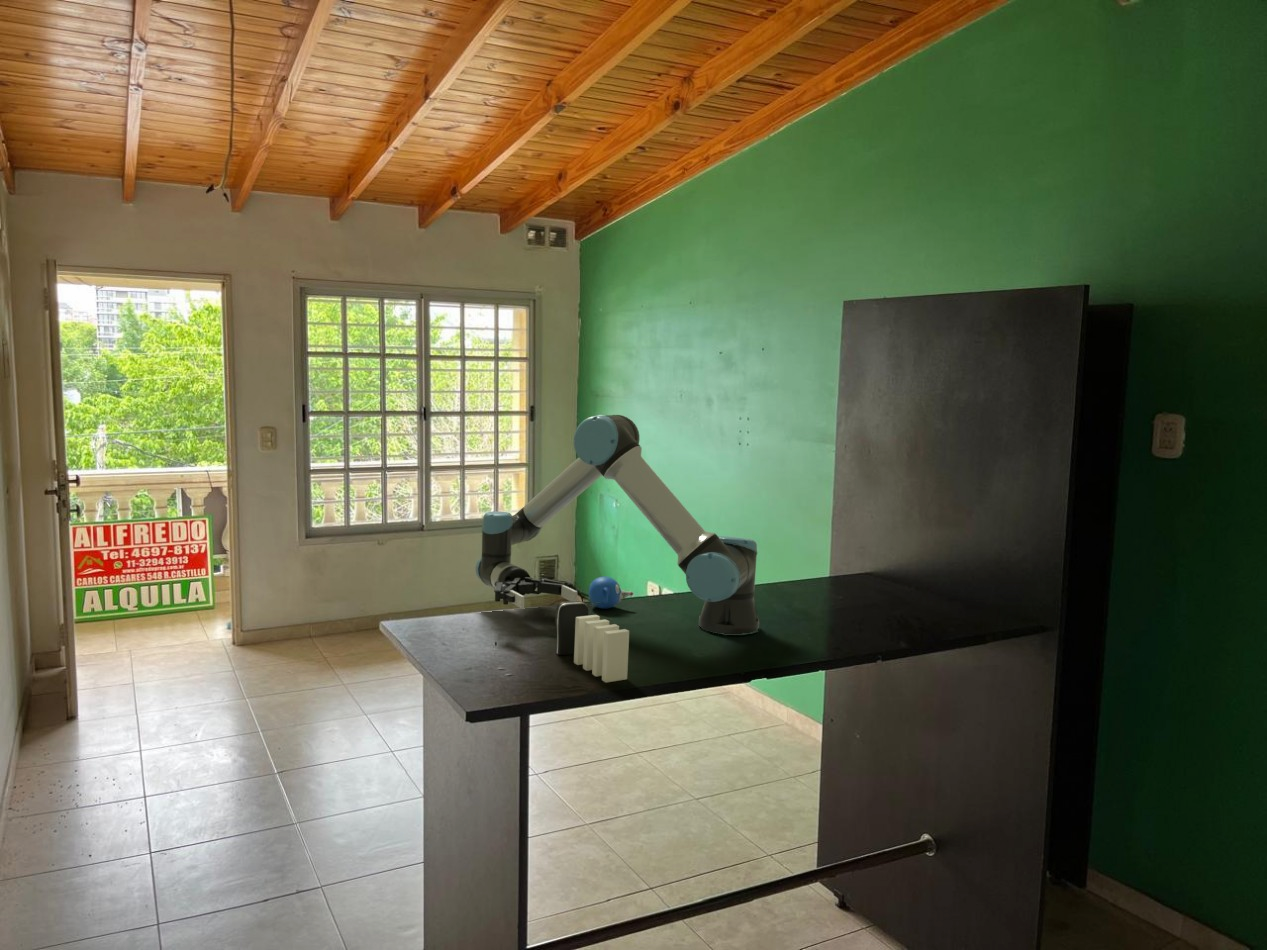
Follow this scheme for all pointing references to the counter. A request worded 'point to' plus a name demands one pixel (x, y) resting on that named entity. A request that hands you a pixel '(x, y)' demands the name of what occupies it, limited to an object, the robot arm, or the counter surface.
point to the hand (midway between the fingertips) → (549, 599)
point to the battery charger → (568, 625)
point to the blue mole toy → (606, 592)
